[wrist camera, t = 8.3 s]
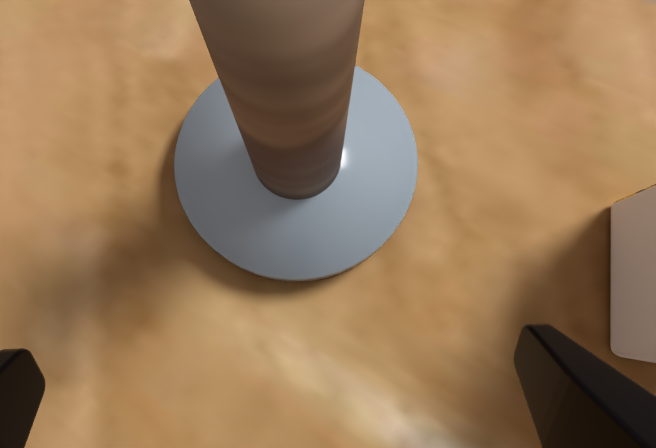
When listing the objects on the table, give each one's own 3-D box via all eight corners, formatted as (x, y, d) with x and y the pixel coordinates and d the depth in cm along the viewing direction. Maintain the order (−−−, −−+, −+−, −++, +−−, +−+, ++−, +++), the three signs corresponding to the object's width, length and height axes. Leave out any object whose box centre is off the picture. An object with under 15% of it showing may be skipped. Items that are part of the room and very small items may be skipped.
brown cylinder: (315, 215, 19) (314, 58, 8) (236, 174, 19) (133, -27, 8) (356, 140, 20) (404, -89, 9) (279, 103, 20) (237, -160, 9)
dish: (413, 287, 19) (419, 284, 18) (167, 276, 19) (157, 272, 18) (411, 72, 22) (416, 57, 21) (196, 60, 22) (189, 45, 21)
